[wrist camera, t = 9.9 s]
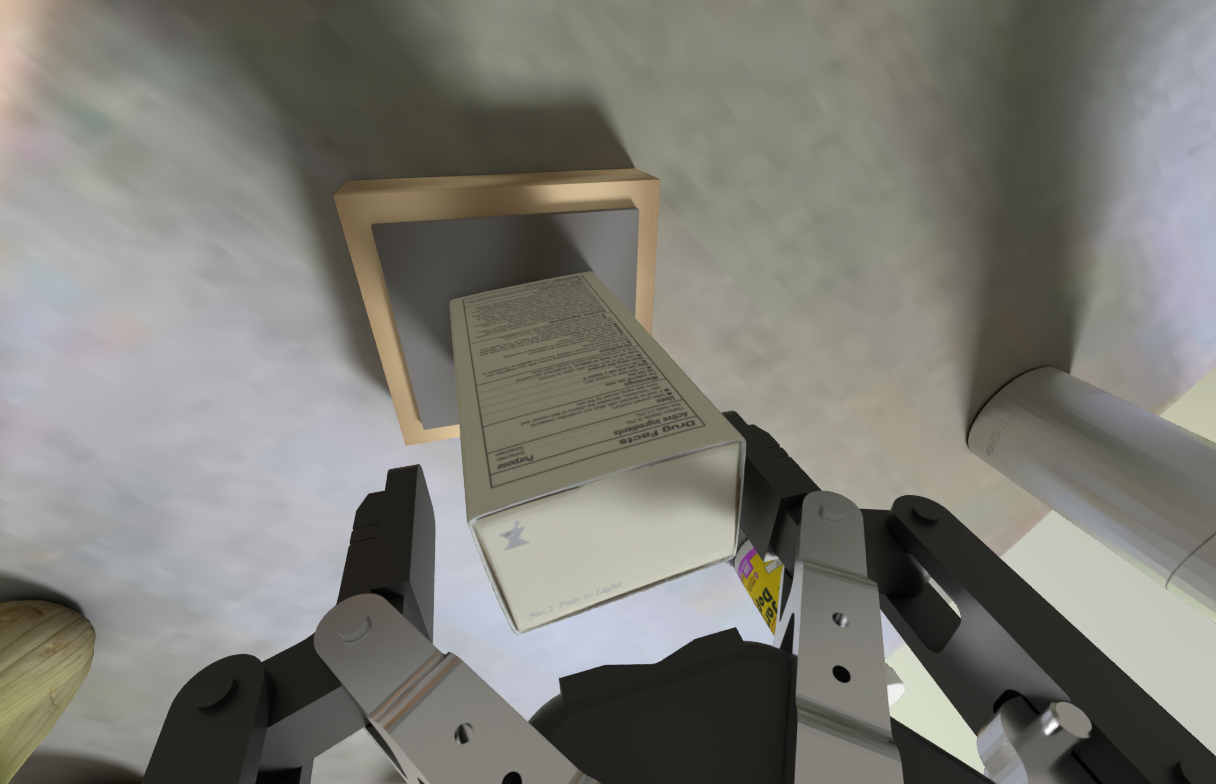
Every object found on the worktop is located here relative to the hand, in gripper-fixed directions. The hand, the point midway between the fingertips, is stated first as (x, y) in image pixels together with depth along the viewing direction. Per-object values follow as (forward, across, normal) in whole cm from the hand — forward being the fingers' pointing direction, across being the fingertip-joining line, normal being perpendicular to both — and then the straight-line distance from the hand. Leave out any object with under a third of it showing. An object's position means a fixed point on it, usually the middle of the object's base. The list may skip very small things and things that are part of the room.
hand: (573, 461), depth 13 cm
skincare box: (+9, 0, 0) cm, 9 cm away
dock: (+12, 0, 0) cm, 12 cm away
